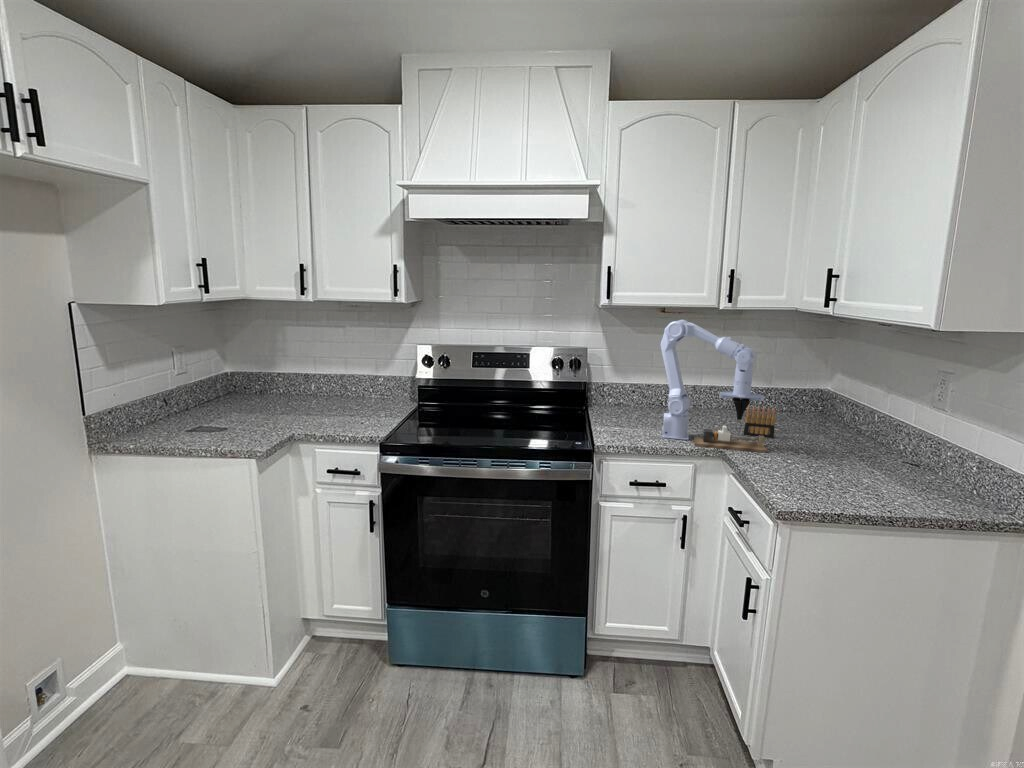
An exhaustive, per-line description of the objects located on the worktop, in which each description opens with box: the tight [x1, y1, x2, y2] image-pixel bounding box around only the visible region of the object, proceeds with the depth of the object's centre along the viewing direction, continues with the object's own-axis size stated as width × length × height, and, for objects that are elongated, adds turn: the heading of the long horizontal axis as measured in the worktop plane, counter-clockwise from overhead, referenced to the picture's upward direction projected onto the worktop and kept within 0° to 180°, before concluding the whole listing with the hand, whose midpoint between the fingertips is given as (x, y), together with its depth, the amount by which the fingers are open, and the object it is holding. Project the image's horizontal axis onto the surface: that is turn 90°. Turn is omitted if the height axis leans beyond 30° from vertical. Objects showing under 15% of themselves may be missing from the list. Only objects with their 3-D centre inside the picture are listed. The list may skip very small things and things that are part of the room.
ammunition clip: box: [743, 404, 776, 439], centre depth 212 cm, size 11×2×12 cm, turn 70°
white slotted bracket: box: [717, 425, 731, 441], centre depth 200 cm, size 4×3×5 cm
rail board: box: [693, 428, 768, 454], centre depth 200 cm, size 24×9×5 cm, turn 74°
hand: (739, 419), depth 198 cm, fingers closed
